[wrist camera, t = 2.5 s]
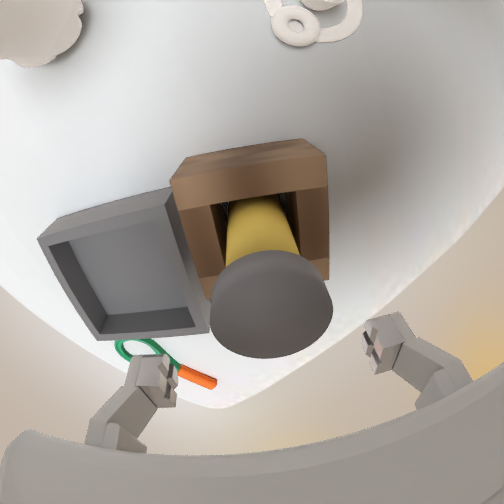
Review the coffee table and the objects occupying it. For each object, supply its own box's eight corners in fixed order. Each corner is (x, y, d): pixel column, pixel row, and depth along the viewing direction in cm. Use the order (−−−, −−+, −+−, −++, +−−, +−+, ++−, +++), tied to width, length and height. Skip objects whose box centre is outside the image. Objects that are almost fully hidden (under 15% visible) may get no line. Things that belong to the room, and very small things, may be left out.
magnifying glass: (111, 344, 32) (107, 354, 31) (125, 322, 30) (122, 332, 29) (202, 386, 38) (202, 395, 37) (226, 370, 36) (226, 380, 35)
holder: (302, 138, 20) (325, 154, 15) (310, 239, 25) (329, 279, 20) (185, 157, 20) (169, 180, 15) (210, 255, 25) (205, 299, 20)
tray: (175, 185, 22) (164, 204, 18) (211, 304, 29) (209, 332, 25) (57, 218, 22) (36, 238, 19) (107, 315, 29) (97, 340, 26)
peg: (280, 165, 21) (334, 261, 10) (287, 223, 24) (330, 347, 13) (215, 176, 21) (194, 283, 10) (228, 232, 24) (225, 364, 13)
